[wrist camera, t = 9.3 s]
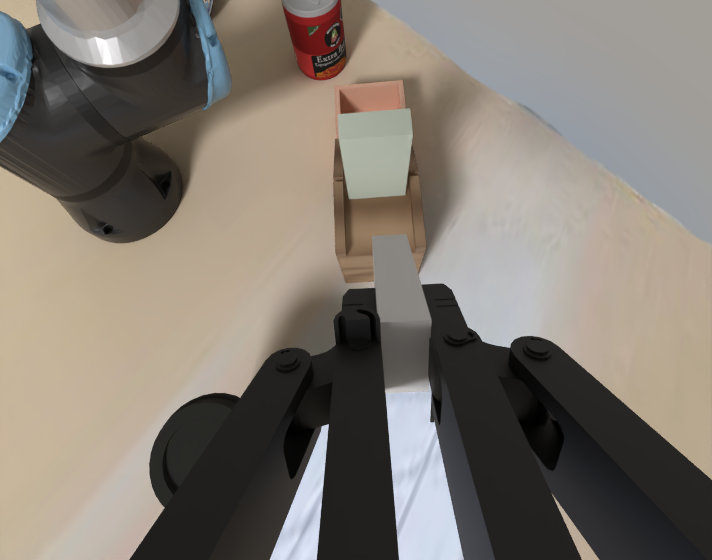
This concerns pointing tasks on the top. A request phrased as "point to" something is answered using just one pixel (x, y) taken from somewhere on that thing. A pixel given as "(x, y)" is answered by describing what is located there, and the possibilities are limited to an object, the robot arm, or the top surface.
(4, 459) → the top surface
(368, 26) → the top surface
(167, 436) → the coffee cup
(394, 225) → the launcher
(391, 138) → the pale green block
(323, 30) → the canned food
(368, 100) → the pink open box
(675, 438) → the top surface
